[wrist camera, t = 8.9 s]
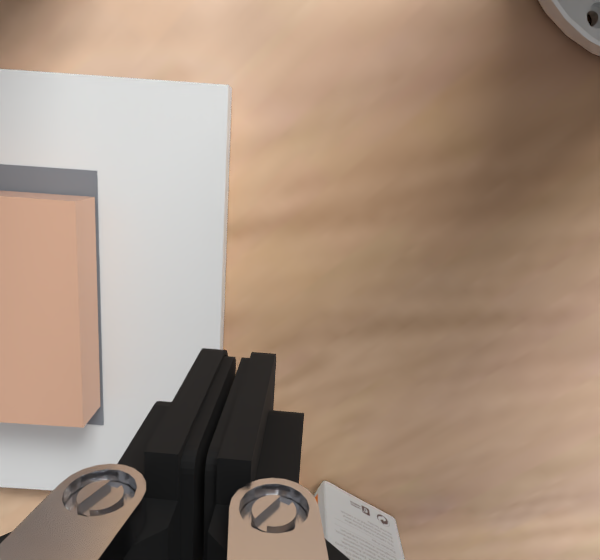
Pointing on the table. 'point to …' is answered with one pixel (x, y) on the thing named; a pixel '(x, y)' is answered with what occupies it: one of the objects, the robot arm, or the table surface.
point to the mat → (125, 241)
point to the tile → (48, 309)
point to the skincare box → (357, 526)
